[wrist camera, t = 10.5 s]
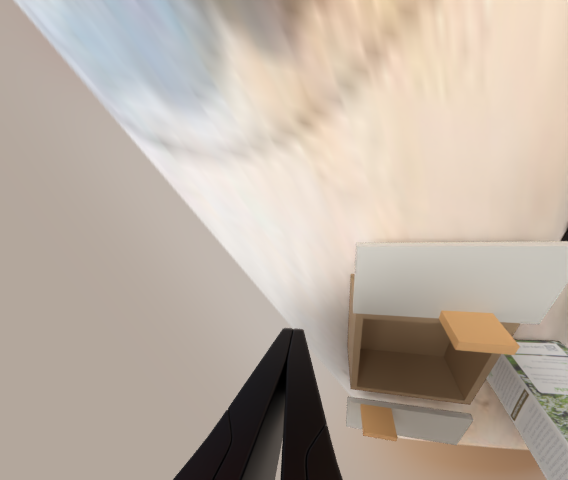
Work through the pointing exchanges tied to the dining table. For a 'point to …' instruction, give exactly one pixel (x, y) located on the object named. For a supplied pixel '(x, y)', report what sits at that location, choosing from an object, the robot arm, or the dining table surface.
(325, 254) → the dining table surface
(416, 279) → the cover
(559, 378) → the syrup box
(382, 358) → the carton
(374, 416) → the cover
